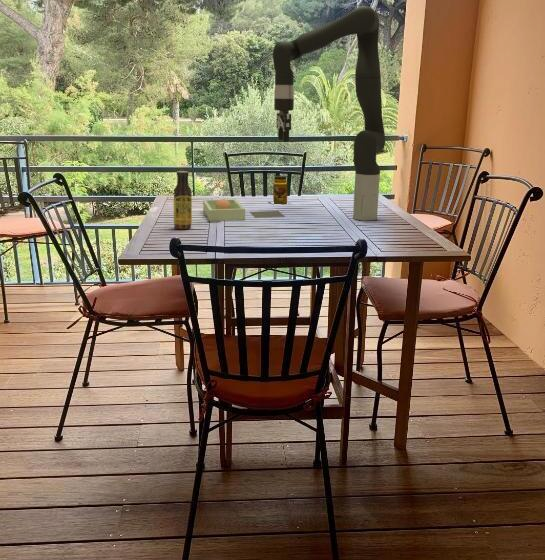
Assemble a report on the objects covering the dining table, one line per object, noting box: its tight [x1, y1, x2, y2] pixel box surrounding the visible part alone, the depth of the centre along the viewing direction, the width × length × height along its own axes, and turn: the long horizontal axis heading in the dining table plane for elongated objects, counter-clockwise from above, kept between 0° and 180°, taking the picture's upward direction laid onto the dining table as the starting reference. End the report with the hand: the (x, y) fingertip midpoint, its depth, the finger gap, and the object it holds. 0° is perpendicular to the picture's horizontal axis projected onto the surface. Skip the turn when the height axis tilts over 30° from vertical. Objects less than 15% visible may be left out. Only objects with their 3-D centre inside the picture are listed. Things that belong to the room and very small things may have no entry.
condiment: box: [272, 175, 291, 205], centre depth 252 cm, size 7×8×12 cm
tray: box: [202, 198, 246, 223], centre depth 225 cm, size 22×13×4 cm, turn 13°
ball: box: [216, 198, 231, 209], centre depth 225 cm, size 6×6×6 cm
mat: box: [249, 210, 286, 219], centre depth 228 cm, size 12×12×1 cm
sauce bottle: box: [173, 170, 193, 230], centre depth 202 cm, size 6×6×20 cm
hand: (283, 140), depth 227 cm, fingers open, 8 cm apart
